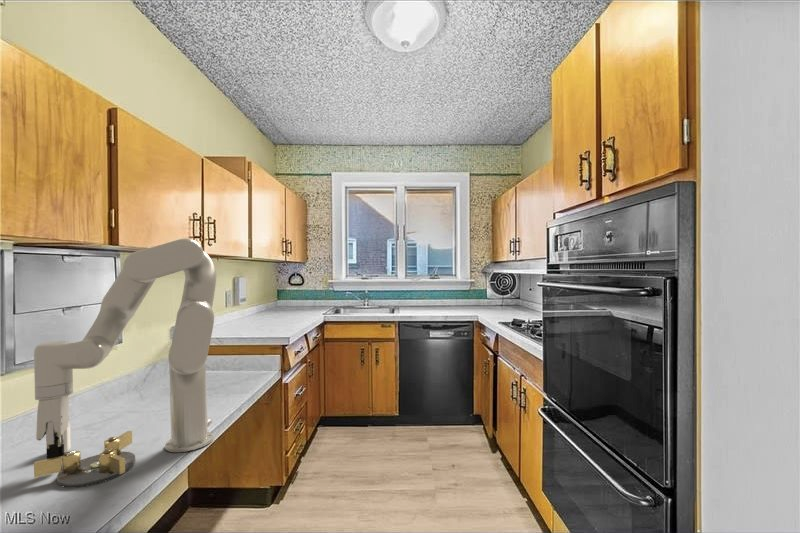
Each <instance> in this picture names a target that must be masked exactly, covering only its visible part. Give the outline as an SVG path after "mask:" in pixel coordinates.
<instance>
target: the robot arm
mask: <svg viewBox="0 0 800 533" xmlns="http://www.w3.org/2000/svg"><path fill="white" fill-rule="evenodd" d="M181 271H183V272H184V276H185V277H184V284H183V290H182V295H181V296H182V297H181V301H180V305H179V308H178V309H177V313H176V319H175V323H174V330H173V334H172V338H171V345H170V347H169V349H168V359H167V360H168V365H169V366H168V368H169V404H170V406H169V407H170V411H169V412H170V434H171V435H170V437H171V439H168V441H166V442H165V443H164V448H165V451H168V452H171V453H185V452H191V451H195V450H198V449H200V448H203V447H205V446H207V445H210V443H212V441H213V440H214V434H213V432H210V431H208V427H209V426H211V425H212V423H213V420H212V419H210V418H208V408H207V407H208V405H207V404H208V402H207V399H208V398H207V370H206V367H207V366H206V362H207V359H208V355H209V350H210V344H211V340H212V335H213V331H214V330H213V329H214V323H215V313H214V310H213V304H214V303H213V302H214V299H215V291H216V286H217V284H216V283H217V271H216V267H215V264H214V262H213V260H212V258H211V257H210V255H208V254H207V252H205V251H204V249H203V246H202V245H201V244H200V243H199V242H198V241H196V240H195V239H192V238H186V237H185V238H180V239H175V240H173V241H169V242H165V243H162V244H158V245H155V246H151V247H148V248H144V249H141V250H137V251H134V252H132V253H129V254H128V255H127V256H126V258H125V259H124V261H123V264H122V269H121V270H120V272H119V273H118V276H117V277H116V278H115V280H114V282H113V283H112V285H111V286H110V287H109V289H108V291H106V293H105V295H104V296H103V298H102V301H101V303H100V308H99V312H98V314H97V315H96V318H95V320H94V321H93V323H92V325H91V326H90V328H89V330H88V331H87V333H86V334H85V336H84V338H83V339H82V340H81V341H75V342H69V341H63V340H62V341H52V342H44V343H41V344H37V345H36V347H35V348H34V352H33V361H34V362H33V366H34V369H33V370H34V372H33V373H34V400H36V401H38V404H37V414H36V433H35V434H36V436H35V437H36V441H41V440H42V439H43V438H44V437H45V441H46V459H50V458H55V457H60V456H63V455H64V454H65V453H64V444H62V443H63V442H64V432H65V430H66V429H67V427H68V424H69V422H70V406H69V404H70V403H69V396H70V395H72V394H73V393H74V378H73V373H74V372H73V370H75V369H76V370H85V369H88V370H89V369H92V368H96V367H97V366H99V365H100V364H102V362H103V361H104V360H105V359H106V358H107V357H108V356H109V355H110V353H111V351H112V350H113V348H114V347H115V344H116V343H117V342H118V340H119V338H120V336H121V335H122V333H123V331H124V330H125V328H126V326H127V325H128V324H129V322H130V321H131V320H132V319H133V317H135V314H136V313H137V311H138V309H139V307H140V305H141V304H142V303H143V301H144V299H145V297H146V296H147V295H148V293H149V291H150V290H151V288H152V286H153V284H154V283H155V282H156V280H157V279H159V278H163V277H166V276H169V275H172V274H176V273H179V272H181Z"/></svg>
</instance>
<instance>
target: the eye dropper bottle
mask: <svg viewBox="0 0 800 533" xmlns="http://www.w3.org/2000/svg"><path fill="white" fill-rule="evenodd" d="M62 444H64V454H66V453H67V452H68V451H71V450H72V449H71V448H72V447H71V446H72V445H71V423H70V421H69V424H68V427H67V429H66V430H65V432H64V442H63V443H62Z"/></svg>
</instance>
